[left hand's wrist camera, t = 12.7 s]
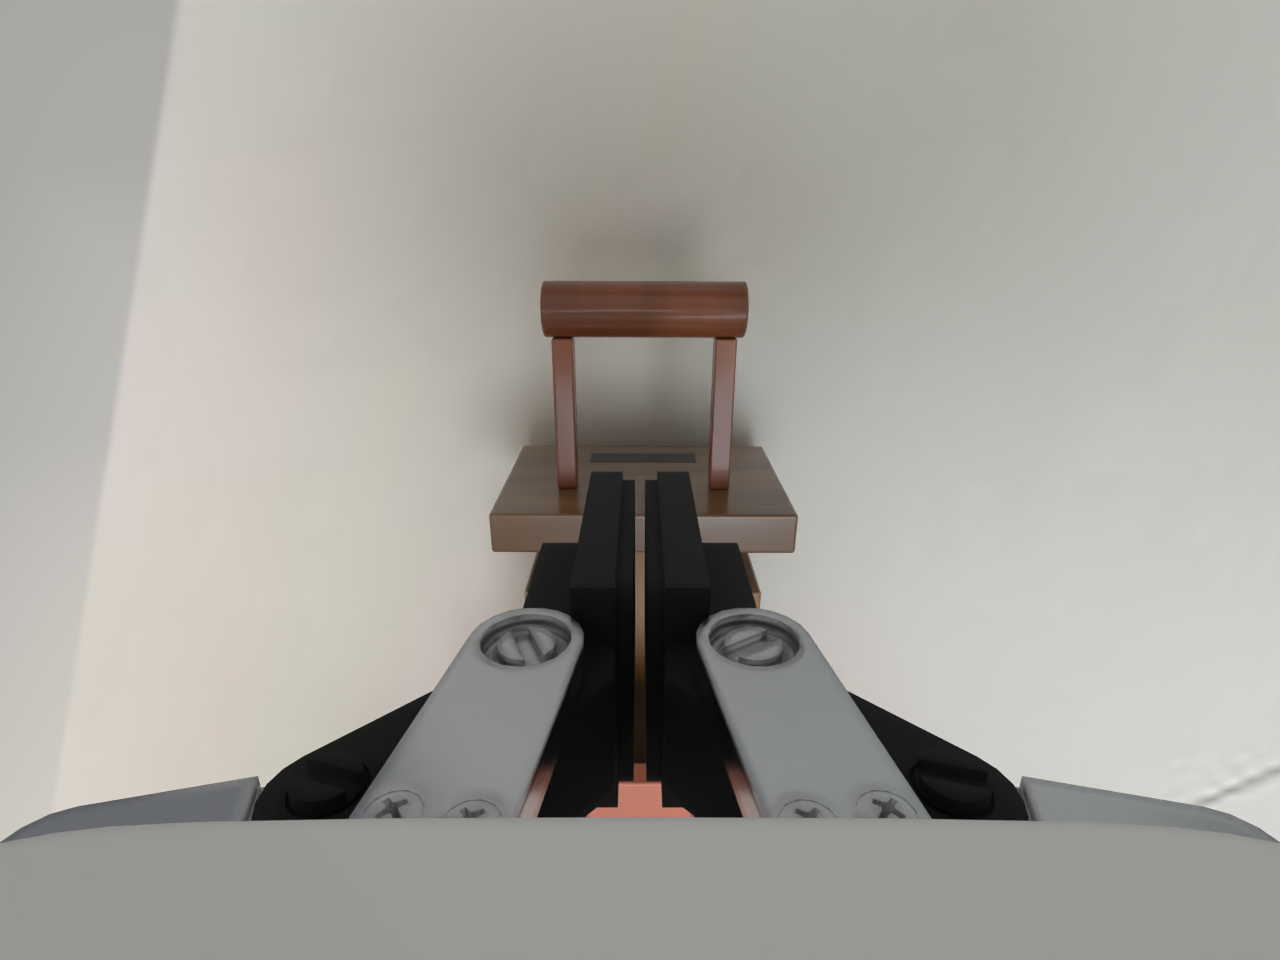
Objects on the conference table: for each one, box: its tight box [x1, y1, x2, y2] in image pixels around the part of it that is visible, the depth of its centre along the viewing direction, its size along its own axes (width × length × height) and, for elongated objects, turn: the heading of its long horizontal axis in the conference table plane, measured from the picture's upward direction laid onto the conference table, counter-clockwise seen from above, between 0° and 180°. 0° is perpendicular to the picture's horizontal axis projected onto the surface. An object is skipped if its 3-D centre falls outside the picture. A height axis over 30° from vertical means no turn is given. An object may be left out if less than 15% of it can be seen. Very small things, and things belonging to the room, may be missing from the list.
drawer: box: [489, 281, 798, 763], centre depth 24 cm, size 22×9×6 cm, turn 0°
